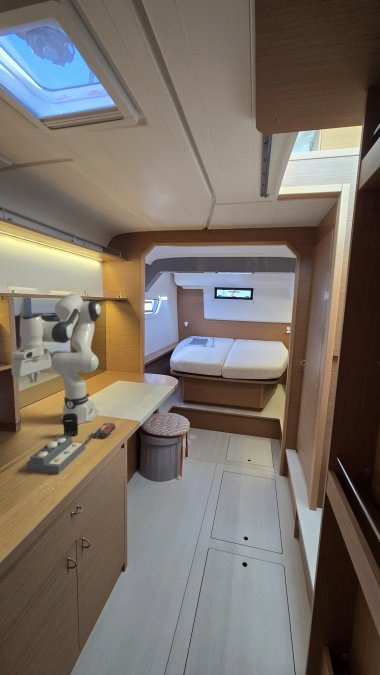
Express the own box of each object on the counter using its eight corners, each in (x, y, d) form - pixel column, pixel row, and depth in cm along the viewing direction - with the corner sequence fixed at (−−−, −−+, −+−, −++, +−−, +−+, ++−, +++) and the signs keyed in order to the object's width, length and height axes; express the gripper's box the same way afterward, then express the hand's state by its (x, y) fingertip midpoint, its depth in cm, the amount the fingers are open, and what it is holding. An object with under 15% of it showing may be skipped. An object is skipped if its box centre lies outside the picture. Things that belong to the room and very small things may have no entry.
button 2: (60, 441, 124) (59, 437, 124) (68, 442, 124) (67, 438, 123) (54, 445, 120) (54, 441, 120) (62, 446, 120) (62, 442, 119)
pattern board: (57, 445, 126) (57, 434, 126) (85, 448, 124) (84, 437, 124) (26, 469, 108) (26, 456, 107) (58, 473, 106) (58, 460, 105)
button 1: (41, 455, 112) (41, 450, 112) (50, 456, 112) (50, 451, 112) (34, 460, 108) (34, 455, 108) (43, 461, 108) (43, 457, 108)
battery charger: (62, 437, 134) (61, 415, 133) (64, 434, 138) (63, 412, 137) (77, 436, 135) (76, 415, 134) (78, 433, 139) (78, 412, 138)
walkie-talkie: (101, 427, 148) (83, 445, 128) (101, 419, 147) (83, 436, 128) (116, 428, 147) (101, 446, 127) (116, 420, 147) (101, 437, 127)
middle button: (51, 445, 118) (51, 440, 118) (59, 445, 118) (59, 441, 117) (45, 449, 114) (44, 445, 114) (53, 450, 114) (53, 446, 113)
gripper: (42, 347, 130) (43, 375, 131) (7, 354, 110) (9, 388, 111) (54, 348, 129) (55, 376, 130) (21, 355, 109) (22, 389, 110)
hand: (33, 382), depth 121 cm, fingers closed
